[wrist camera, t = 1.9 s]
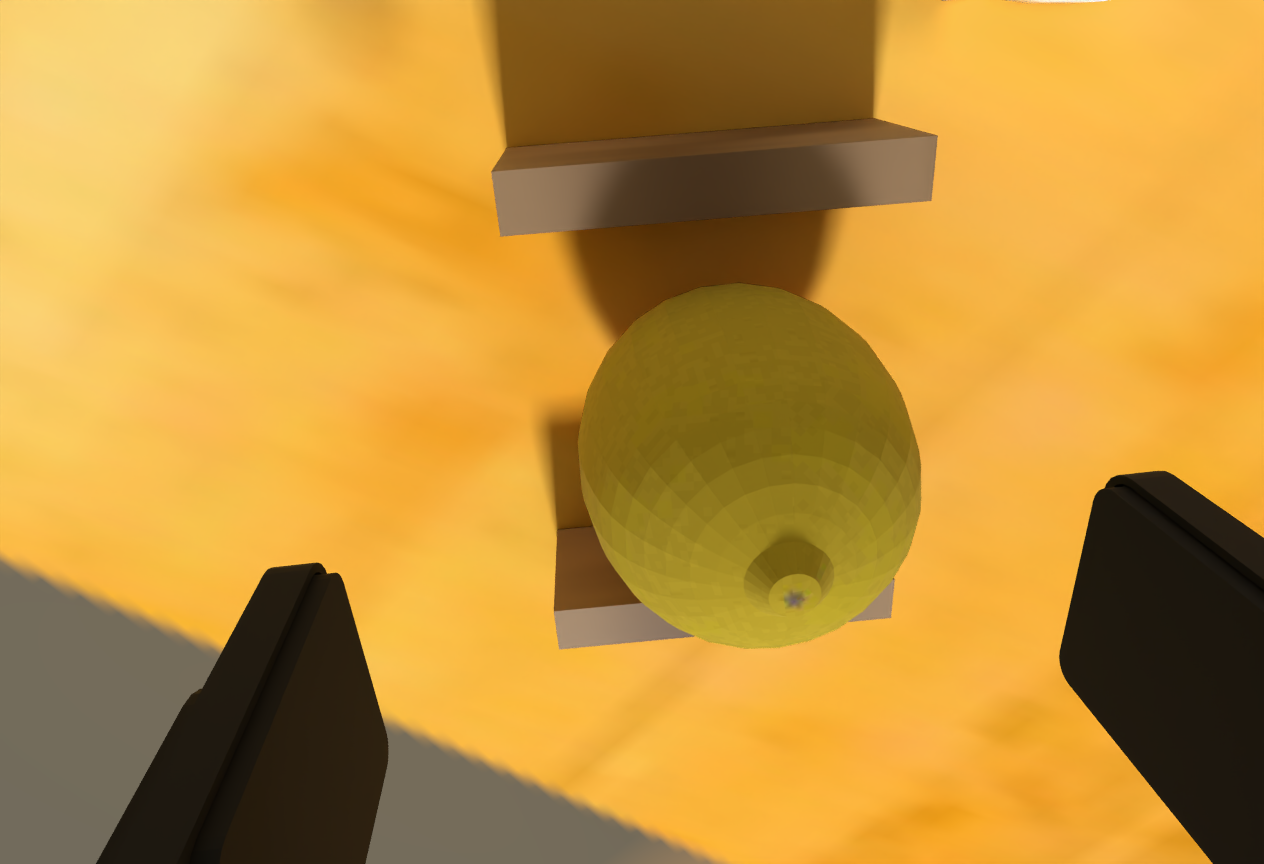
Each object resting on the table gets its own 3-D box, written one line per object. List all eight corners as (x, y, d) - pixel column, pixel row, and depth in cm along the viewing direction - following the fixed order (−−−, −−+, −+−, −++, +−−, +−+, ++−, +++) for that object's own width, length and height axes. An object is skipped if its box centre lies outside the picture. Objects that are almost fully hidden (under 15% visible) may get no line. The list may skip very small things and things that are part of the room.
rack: (873, 118, 15) (937, 135, 12) (847, 537, 19) (891, 617, 17) (506, 147, 15) (491, 171, 12) (562, 564, 19) (559, 649, 17)
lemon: (525, 340, 17) (485, 565, 10) (750, 182, 16) (896, 305, 8) (670, 518, 19) (725, 811, 12) (876, 392, 18) (1077, 631, 11)
